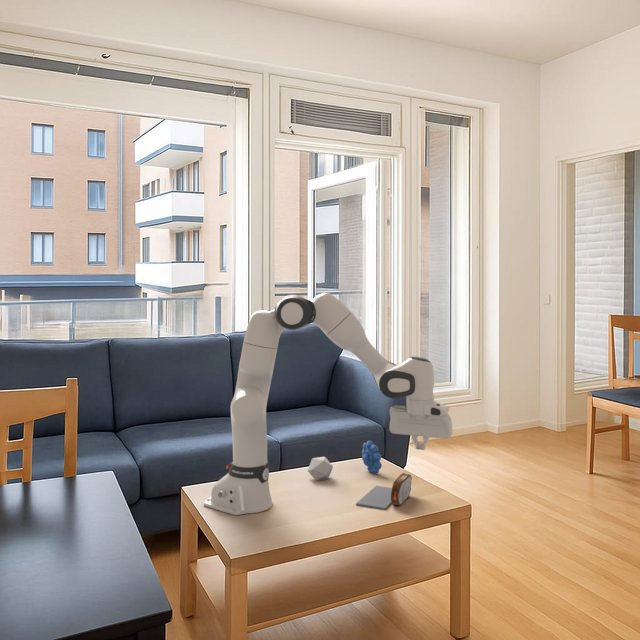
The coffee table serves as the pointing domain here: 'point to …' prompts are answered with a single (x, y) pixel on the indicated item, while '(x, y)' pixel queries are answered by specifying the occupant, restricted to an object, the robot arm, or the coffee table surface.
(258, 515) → the coffee table surface
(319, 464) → the die
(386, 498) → the mat
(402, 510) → the coffee table surface
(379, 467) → the grapes
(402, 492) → the tin
